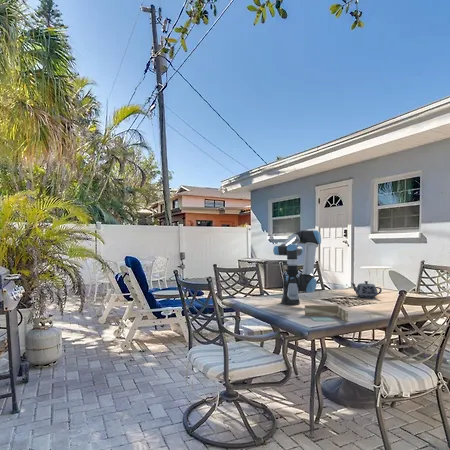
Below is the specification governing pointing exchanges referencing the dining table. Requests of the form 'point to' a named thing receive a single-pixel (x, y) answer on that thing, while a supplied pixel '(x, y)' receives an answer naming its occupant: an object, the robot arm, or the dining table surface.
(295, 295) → the angle block
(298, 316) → the dining table surface
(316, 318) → the mat
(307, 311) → the wooden corner frame
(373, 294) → the teapot
